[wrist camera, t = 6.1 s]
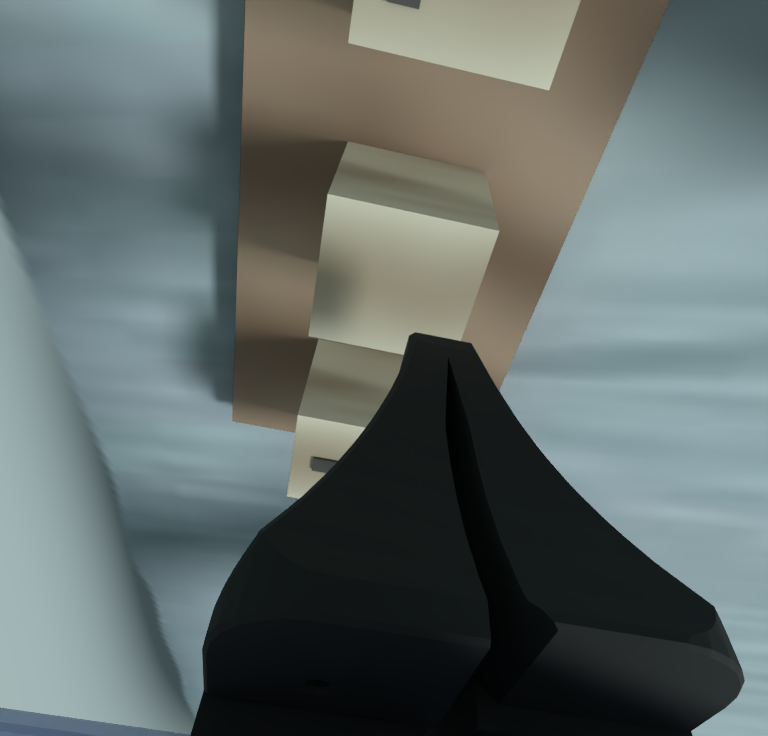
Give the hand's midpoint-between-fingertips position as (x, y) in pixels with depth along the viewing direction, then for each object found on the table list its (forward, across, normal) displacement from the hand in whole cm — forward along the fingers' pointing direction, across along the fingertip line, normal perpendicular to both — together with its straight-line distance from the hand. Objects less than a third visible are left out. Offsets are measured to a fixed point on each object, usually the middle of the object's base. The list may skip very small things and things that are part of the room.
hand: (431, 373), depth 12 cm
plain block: (+7, +1, 0) cm, 7 cm away
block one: (+7, +1, +7) cm, 9 cm away
